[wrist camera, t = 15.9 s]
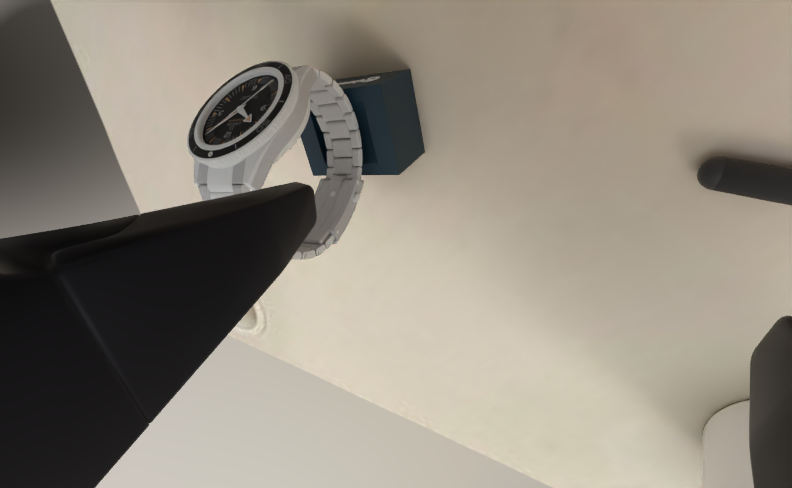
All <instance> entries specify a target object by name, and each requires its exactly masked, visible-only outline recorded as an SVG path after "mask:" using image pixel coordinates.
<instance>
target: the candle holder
mask: <svg viewBox="0 0 792 488" xmlns="http://www.w3.org/2000/svg"><path fill="white" fill-rule="evenodd" d="M749 408H750V400H747V401H742V402H739V403H736V404H733V405H730V406H728V407H726V408H724V409H722V410H720V411H719V412H717V413H716V414H715V415H713V416H712V417H711V418H710V419H709V421H708V422H707V424H706V425H705V428H704V430H703V435H702V450H701V479H702V488H754V484H753V476H752V468H751V460H750V449H749Z"/></svg>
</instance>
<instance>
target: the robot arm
mask: <svg viewBox="0 0 792 488" xmlns="http://www.w3.org/2000/svg"><path fill="white" fill-rule="evenodd" d="M316 220H317V212H316V203H315V195H314V190H313V188H312V187H311V186H309V185H306V184H302V183H298V182H294V183H289V184H284V185H279V186H274V187H269V188H264V189H259V190H255V191H250V192H245V193H240V194H235V195H230V196H225V197H221V198H216V199H211V200H206V201H201V202H196V203H191V204H187V205H182V206H177V207H172V208H167V209H162V210H157V211H152V212H148V213H143V214H141V215H140V216H139V215H133V216H128V217H123V218H118V219H113V220H108V221H103V222H97V223H93V224H87V225H81V226H75V227H70V228H64V229H58V230H52V231H46V232H39V233H34V234H28V235H21V236H15V237H9V238H2V239H0V488H95V487H96V486H97V484H98V483H99V482H100V481H101V480H102V479H103V478H104V476H105V475H106V474H107V473H108V472H109V471H110V469H111V468H112V467H113V466H114V465H115V464H116V463H117V462H118V460H119V459H120V458H121V457H122V456H123V455H124V453H125V452H126V451H127V450H128V449H129V448H130V447H131V445H132V444H133V443H134V442H135V441H136V440H137V438H138V437H139V436H140V435H141V434H142V433H143V432H144V430H145V429H146V428H147V427H148V426H149V423H151V422H152V421H153V420H154V418H155V417H156V416H157V415H158V414H159V413H160V412H161V410H162V409H163V408H164V407H165V406H166V405H167V404H168V402H169V401H170V400H171V399H172V398H173V397H174V396H175V394H176V393H177V392H178V391H179V390H180V389H181V388H182V386H183V385H184V384H185V383H186V382H187V381H188V379H189V378H190V377H191V376H192V375H193V374H194V373H195V371H196V370H197V369H198V368H199V367H200V366H201V365H202V363H203V362H204V361H205V360H206V359H207V358H208V356H209V355H210V354H211V353H212V352H213V351H214V350H215V348H216V347H217V346H218V345H219V344H220V343H221V342H222V340H223V339H224V338H225V337H226V336H227V335H228V334H229V332H230V331H231V330H232V329H233V328H234V327H235V326H236V324H237V323H238V322H239V321H240V320H241V319H242V318H243V316H244V315H245V314H246V313H247V312H248V311H249V309H250V308H251V307H252V306H253V305H254V304H255V303H256V301H257V300H258V299H259V298H260V297H261V296H262V295H263V293H264V292H265V291H266V290H267V289H268V288H269V286H270V285H271V284H272V283H273V282H274V281H275V280H276V278H277V277H278V276H279V275H280V274H281V272H282V271H283V270H284V268H285V267H286V266H287V264H288V263H289V262H290V260H291V259H292V257H293V256H294V254H295V253H296V252H297V250H298V249H299V247H300V246H301V244H302V243H303V242H304V240H305V239H306V237H307V236H308V234H309V233H310V232H311V230H312V229H313V227H314V226H315V223H316ZM749 449H750V460H751V468H752V476H753V484H754V488H792V316H785V317H782V318H780V319H779V320H778V321H777V322H776V323H775V324H774V325H773V327H772V328H771V329H770V330H769V332H768V333H767V334H766V335H765V337H764V338H763V339H762V341H761V342H760V343H759V344H758V346H757V347H756V348H755V350H754V352H753V354H752V357H751V363H750V408H749Z"/></svg>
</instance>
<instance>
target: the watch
mask: <svg viewBox="0 0 792 488" xmlns="http://www.w3.org/2000/svg"><path fill="white" fill-rule="evenodd" d="M300 135H301V138H302V142H303V145H304V148H305V151H306V154H307V157H308V160H309V163H310V166H311V170H312V173H313V176H317V175H326V178H323V179H321V180H320V182H319V185H318V188H317V191H316V193H315V203H316V212H317V220H316V223H315V226H314V227H313V229H312V230H311V232H310V233H309V234H308V236H307V237H306V239H305V240H304V242H303V243H302V244H301V246H300V247H299V249H298V250H297V252H296V253H295V254H294V256H293V257H292V259H297V260H301V259H302V260H305V259H310V258H313V257H315V256H318V255H320V254H321V253H323V252H324V251H325V250H326V249H328V248H329V247H330V245H332V244H336V243H337V242H338V240H339V238H340V237H341V235H342V234H343V232H344V230H345V228H346V226H347V225H348V223H349V221H350V219H351V217H352V214H353V212H354V210H355V207H356V205H357V202H358V201H359V198H360V193H361V190H362V187H363V183H364V181H363V180H361V175H400V174H401V173H402V172H403V171H404V170H405V169H406V168H407V167H409V166H410V165H411V164H412V163H413V162H414V161H415V160H416V159H418V158H419V157H420V156H421V155H422V154H423V153H424V152H425V150H424V145H423V139H422V133H421V128H420V122H419V116H418V110H417V105H416V99H415V93H414V88H413V82H412V76H411V71H410V69H406V70H400V71H393V72H387V73H380V74H373V75H367V76H360V77H353V78H347V79H340V80H332V78H331V77H330V76H329V75H327V74H326V73H325V72H323V71H321V70H318V69H317V68H314V67H312V66H309V65H304V66H299V67H293V68H292V67H291V66H290V65H288V64H287V63H285V62H282V61H268V62H263V63H260V64H257V65H254V66H252V67H250V68H248V69H246V70H244V71H242V72H240V73H239V74H237V75H235V76H234V77H232V78H231V79H230V80H228V81H227V82H226V83H225V84H223V85H222V86H221V87H220V88H219V89H218V90H217V91H216V92H215V93H214V94H213V95H212V96H211V97H210V98H209V99H208V100H207V101H206V103H205V104H204V105H203V106H202V108H201V109H200V111H199V112H198V114H197V115H196V117H195V119H194V121H193V123H192V125H191V128H190V130H189V134H188V139H187V140H188V141H187V144H188V145H187V146H188V150H189V153H190V154H191V155H192V157H194V183H195V185H196V186H197V187H198V188H199V191H200V194H201V197H202V200H203V201H206V200H211V199H216V198H221V197H225V196H230V195H235V194H240V193H245V192H250V190H252V191H255V190H259V189H260V188H261V187H262V186H263V184H264V181H265V179H266V177H267V175H268V173H269V170H270V168H271V166H272V164H274V163H275V162H276V161H278V160H279V159H280V158H281V157H282V156H283V154H284V153H285V152H286V151H287V150H288V149H290V148H291V147H292V146H293V145H294V144H295V143H296V141H297V140H298V138H299V137H300Z"/></svg>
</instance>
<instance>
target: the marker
mask: <svg viewBox="0 0 792 488" xmlns="http://www.w3.org/2000/svg"><path fill="white" fill-rule="evenodd" d="M697 177H698V181H699V183H700V184H701V185H702V186H703V187H705V188H707V189H710V190H715V191H720V192H725V193H730V194H735V195H741V196H746V197H751V198H756V199H761V200H766V201H772V202H777V203H782V204H787V205H792V169H790V168H784V167H778V166H772V165H767V164H761V163H755V162H749V161H743V160H737V159H731V158H725V157H716V158H712V159H709V160H707V161H706V162H704V163H703V164H702V165H701V166H700V168H699V170H698V173H697Z"/></svg>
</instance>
